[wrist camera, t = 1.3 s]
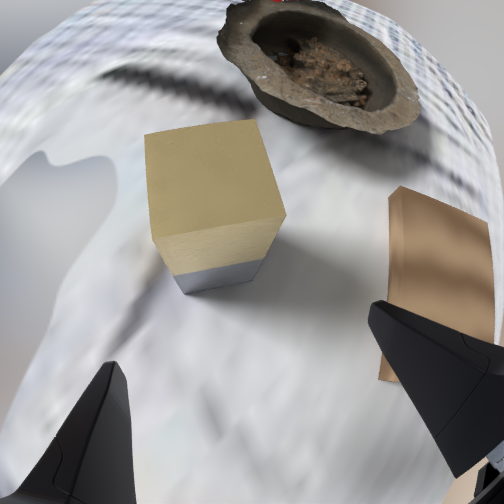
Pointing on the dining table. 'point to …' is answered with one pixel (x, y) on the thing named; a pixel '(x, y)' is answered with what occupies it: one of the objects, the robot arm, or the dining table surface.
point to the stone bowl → (318, 66)
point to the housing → (212, 202)
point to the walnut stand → (439, 266)
